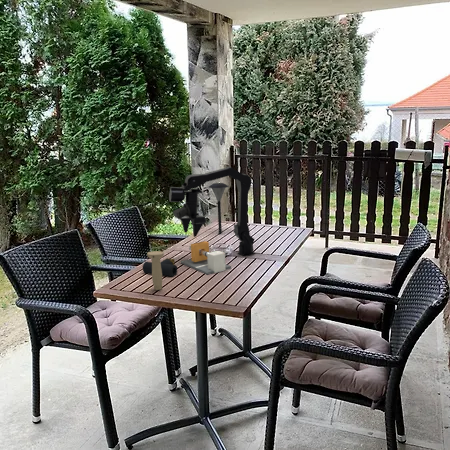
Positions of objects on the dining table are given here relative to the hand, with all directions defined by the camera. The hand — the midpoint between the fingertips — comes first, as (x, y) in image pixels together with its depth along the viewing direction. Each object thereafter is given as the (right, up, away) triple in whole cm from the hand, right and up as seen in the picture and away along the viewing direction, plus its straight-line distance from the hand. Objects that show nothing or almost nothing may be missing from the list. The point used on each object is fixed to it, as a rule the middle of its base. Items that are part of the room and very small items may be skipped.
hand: (190, 234), depth 212 cm
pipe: (+7, -9, -6) cm, 13 cm away
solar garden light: (+14, -1, +53) cm, 55 cm away
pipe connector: (-11, -17, -12) cm, 23 cm away
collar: (+5, -12, -3) cm, 13 cm away
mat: (+8, -14, -6) cm, 17 cm away
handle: (-10, -21, -33) cm, 41 cm away
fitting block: (+13, -16, -13) cm, 24 cm away
